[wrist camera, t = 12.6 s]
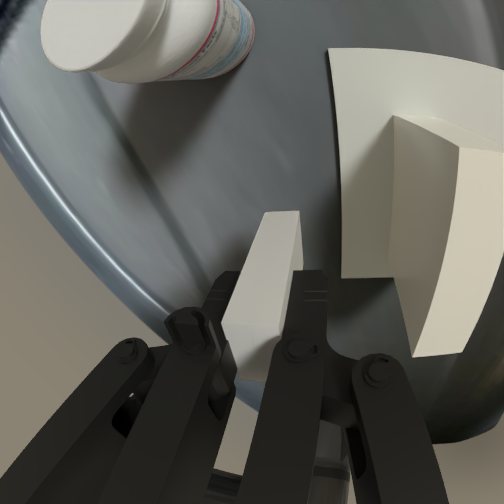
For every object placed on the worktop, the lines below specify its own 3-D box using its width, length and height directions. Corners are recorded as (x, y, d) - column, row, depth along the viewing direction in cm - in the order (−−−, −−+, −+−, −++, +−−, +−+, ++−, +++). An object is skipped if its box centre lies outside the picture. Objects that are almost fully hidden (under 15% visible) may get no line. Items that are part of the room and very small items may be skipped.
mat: (484, 270, 18) (485, 273, 18) (341, 275, 21) (341, 278, 21) (507, 72, 10) (510, 72, 10) (327, 49, 13) (328, 48, 13)
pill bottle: (151, 29, 14) (14, 20, 5) (229, -19, 12) (129, -96, 2) (190, 96, 16) (60, 130, 7) (274, 51, 14) (210, 6, 5)
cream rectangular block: (424, 256, 19) (462, 352, 11) (387, 256, 19) (412, 357, 12) (437, 117, 13) (523, 156, 6) (393, 114, 14) (459, 146, 7)
